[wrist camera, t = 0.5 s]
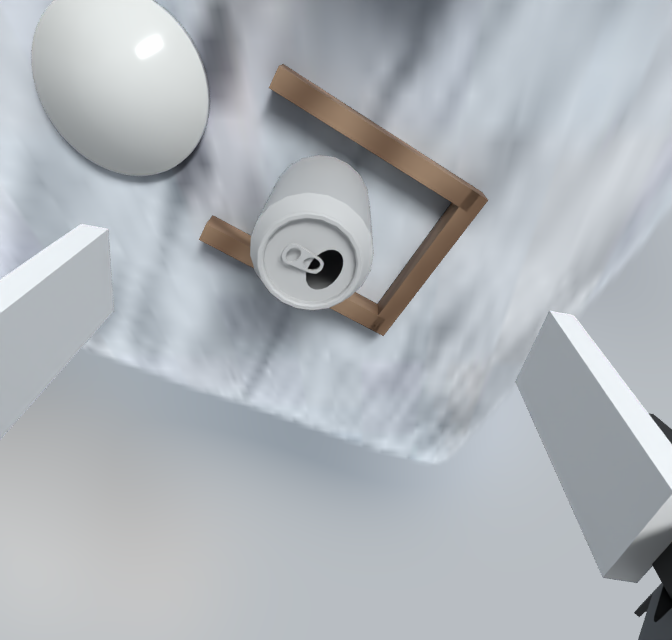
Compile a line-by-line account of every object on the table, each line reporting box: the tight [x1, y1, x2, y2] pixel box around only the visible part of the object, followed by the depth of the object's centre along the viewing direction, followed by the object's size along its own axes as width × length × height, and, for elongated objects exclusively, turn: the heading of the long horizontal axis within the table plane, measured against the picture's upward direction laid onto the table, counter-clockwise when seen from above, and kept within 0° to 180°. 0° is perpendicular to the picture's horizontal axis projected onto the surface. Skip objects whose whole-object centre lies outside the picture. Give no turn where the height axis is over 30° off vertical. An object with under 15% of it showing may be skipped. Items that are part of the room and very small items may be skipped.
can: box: [250, 155, 374, 311], centre depth 33 cm, size 8×8×12 cm
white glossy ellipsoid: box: [31, 0, 210, 176], centre depth 34 cm, size 12×12×1 cm
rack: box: [199, 64, 488, 336], centre depth 37 cm, size 17×14×2 cm
